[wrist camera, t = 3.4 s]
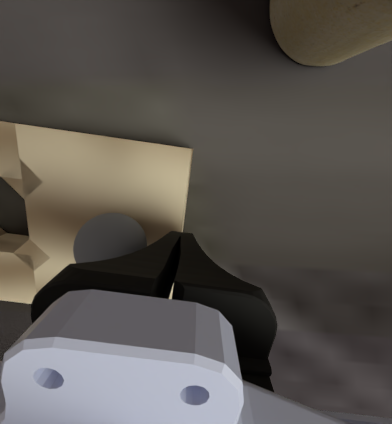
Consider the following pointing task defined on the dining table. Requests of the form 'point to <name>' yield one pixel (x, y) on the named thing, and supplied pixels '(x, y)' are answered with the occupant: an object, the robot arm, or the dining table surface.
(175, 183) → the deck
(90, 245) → the ball
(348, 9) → the flower pot
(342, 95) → the dining table surface
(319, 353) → the dining table surface
